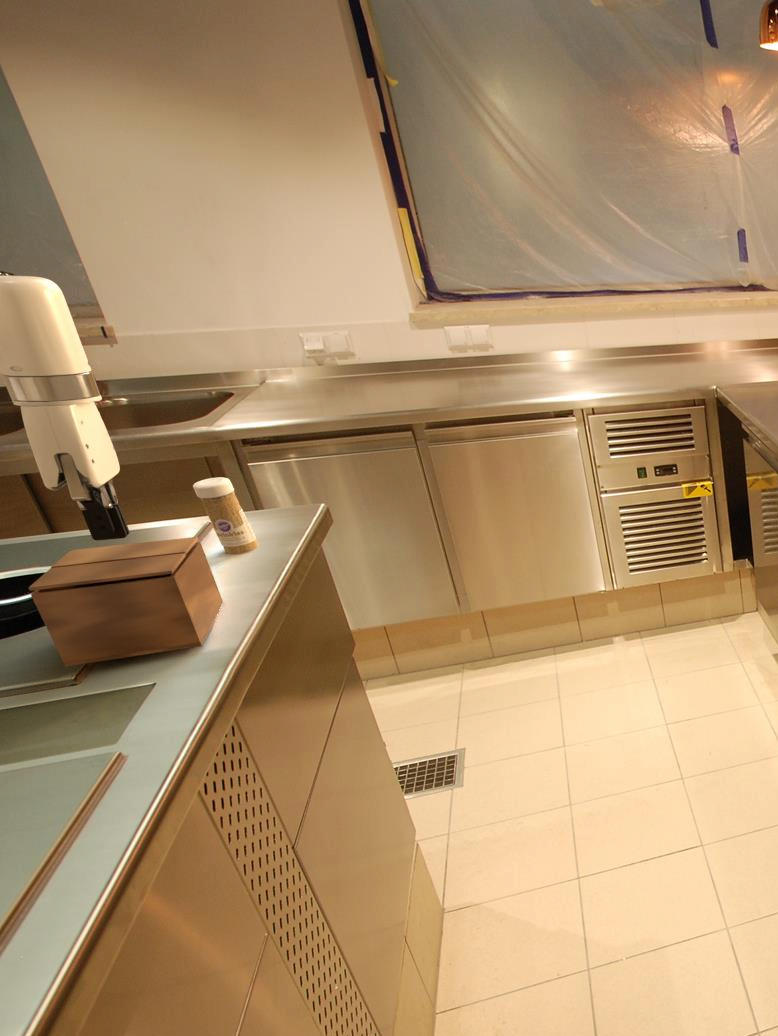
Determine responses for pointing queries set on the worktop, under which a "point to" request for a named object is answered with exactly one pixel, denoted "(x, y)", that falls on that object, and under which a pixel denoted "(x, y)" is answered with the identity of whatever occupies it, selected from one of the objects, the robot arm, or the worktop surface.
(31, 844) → the worktop surface
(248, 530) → the sprinkles bottle
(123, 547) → the flap
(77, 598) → the brown wooden box
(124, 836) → the worktop surface
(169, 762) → the worktop surface
